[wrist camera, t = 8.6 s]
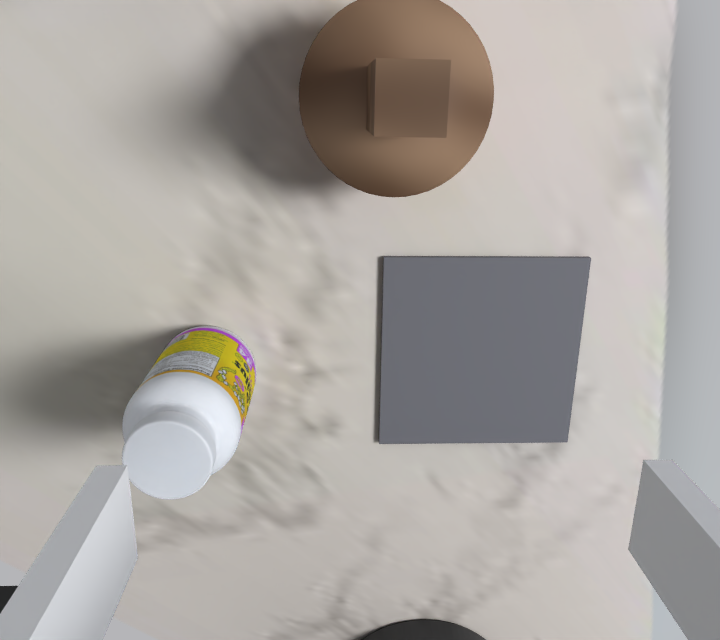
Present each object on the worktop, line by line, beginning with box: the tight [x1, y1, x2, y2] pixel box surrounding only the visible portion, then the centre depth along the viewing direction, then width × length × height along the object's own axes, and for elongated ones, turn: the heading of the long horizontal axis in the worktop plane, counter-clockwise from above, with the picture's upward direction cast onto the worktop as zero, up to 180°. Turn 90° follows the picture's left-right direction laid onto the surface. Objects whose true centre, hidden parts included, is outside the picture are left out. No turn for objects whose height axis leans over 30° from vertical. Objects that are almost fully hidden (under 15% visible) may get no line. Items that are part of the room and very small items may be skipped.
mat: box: [379, 256, 591, 444], centre depth 46 cm, size 14×14×1 cm
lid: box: [299, 0, 494, 197], centre depth 32 cm, size 10×10×8 cm
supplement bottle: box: [122, 326, 256, 499], centre depth 40 cm, size 7×7×13 cm
